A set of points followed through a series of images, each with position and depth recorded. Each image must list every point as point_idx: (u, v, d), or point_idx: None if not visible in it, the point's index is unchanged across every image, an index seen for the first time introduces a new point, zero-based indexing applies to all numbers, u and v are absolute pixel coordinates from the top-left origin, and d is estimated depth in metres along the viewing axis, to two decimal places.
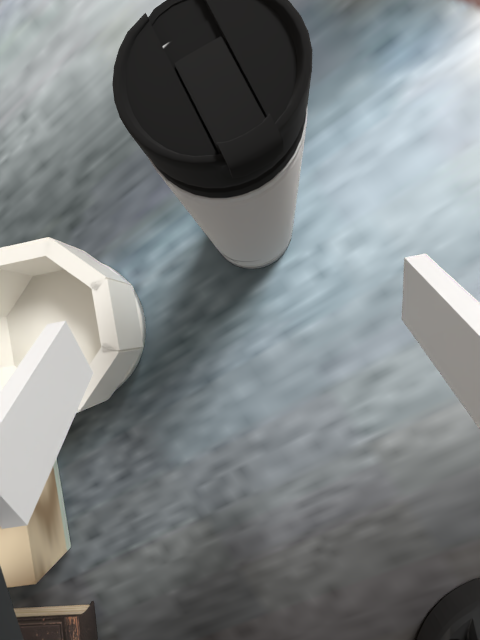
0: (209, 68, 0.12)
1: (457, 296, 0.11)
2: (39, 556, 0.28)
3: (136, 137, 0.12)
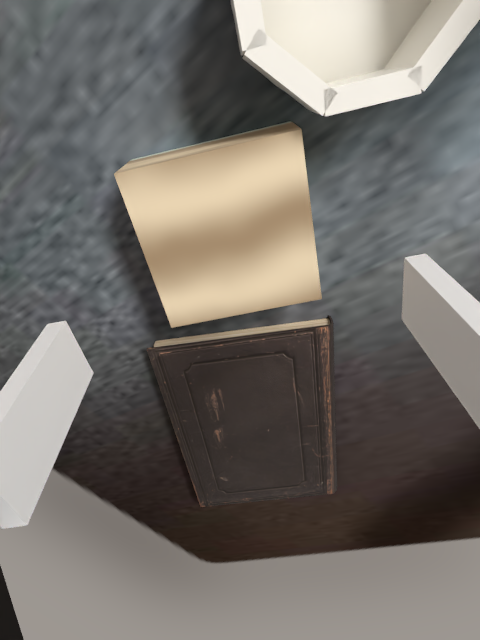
0: None
1: (457, 296, 0.11)
2: None
3: None
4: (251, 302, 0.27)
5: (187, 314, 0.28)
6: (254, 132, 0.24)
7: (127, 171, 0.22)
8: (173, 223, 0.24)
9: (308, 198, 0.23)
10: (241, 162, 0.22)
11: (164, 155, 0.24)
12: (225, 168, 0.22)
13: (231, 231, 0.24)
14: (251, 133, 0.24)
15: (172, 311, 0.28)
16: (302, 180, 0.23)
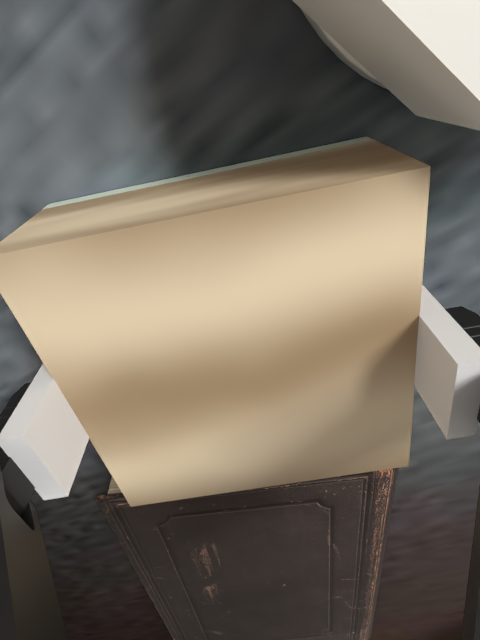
0: None
1: None
2: None
3: None
4: (279, 472, 0.15)
5: (158, 488, 0.15)
6: (297, 160, 0.12)
7: (11, 253, 0.10)
8: (125, 353, 0.11)
9: (417, 309, 0.11)
10: (279, 238, 0.10)
11: (108, 205, 0.12)
12: (241, 249, 0.10)
13: (247, 366, 0.12)
14: (292, 162, 0.12)
15: (131, 485, 0.15)
16: (411, 275, 0.10)
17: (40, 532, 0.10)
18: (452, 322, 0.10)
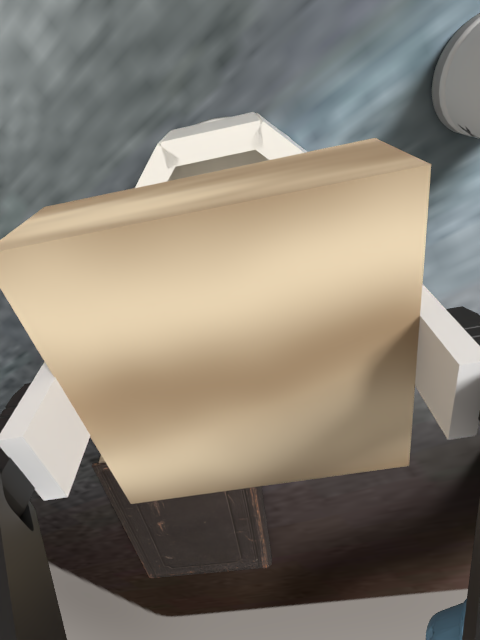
0: None
1: None
2: None
3: None
4: (279, 470, 0.15)
5: (158, 486, 0.15)
6: (298, 158, 0.12)
7: (11, 250, 0.10)
8: (125, 350, 0.11)
9: (417, 308, 0.11)
10: (279, 236, 0.10)
11: (109, 202, 0.12)
12: (241, 247, 0.10)
13: (246, 364, 0.12)
14: (292, 160, 0.12)
15: (131, 482, 0.15)
16: (412, 273, 0.10)
17: (39, 533, 0.10)
18: (453, 322, 0.10)
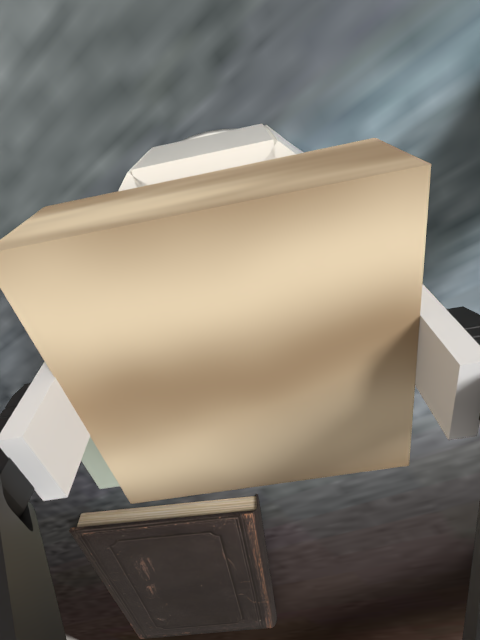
0: None
1: None
2: None
3: None
4: (279, 470, 0.15)
5: (158, 486, 0.15)
6: (298, 158, 0.12)
7: (11, 249, 0.10)
8: (125, 350, 0.11)
9: (417, 307, 0.11)
10: (280, 235, 0.10)
11: (109, 202, 0.12)
12: (241, 246, 0.10)
13: (247, 364, 0.12)
14: (292, 160, 0.12)
15: (131, 482, 0.15)
16: (411, 273, 0.10)
17: (38, 533, 0.10)
18: (454, 322, 0.10)
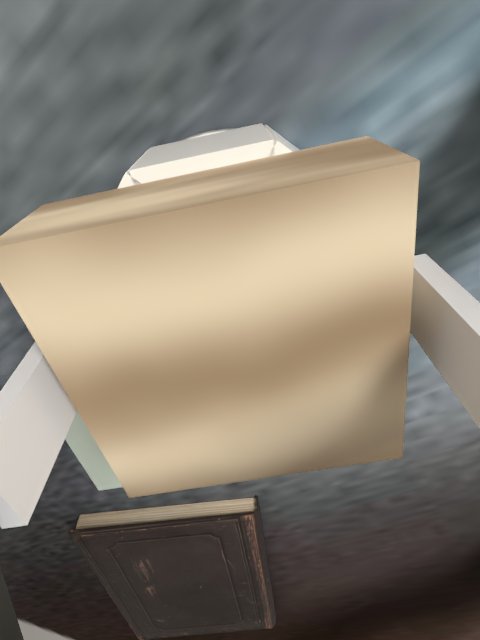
0: None
1: (457, 296, 0.11)
2: None
3: None
4: (275, 463, 0.15)
5: (156, 480, 0.15)
6: (292, 156, 0.12)
7: (12, 245, 0.10)
8: (124, 344, 0.12)
9: (409, 301, 0.11)
10: (274, 231, 0.10)
11: (107, 199, 0.12)
12: (236, 241, 0.10)
13: (243, 358, 0.12)
14: (286, 158, 0.12)
15: (129, 476, 0.15)
16: (402, 267, 0.11)
17: None
18: None
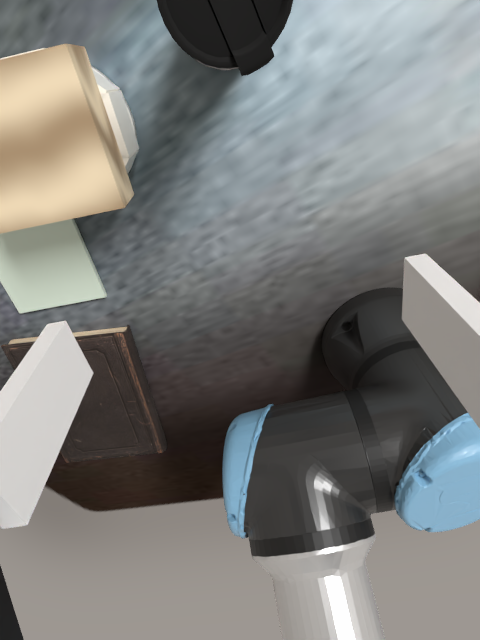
0: None
1: (457, 296, 0.11)
2: (120, 187, 0.31)
3: (178, 43, 0.18)
4: (63, 210, 0.31)
5: (8, 220, 0.31)
6: None
7: None
8: None
9: (88, 109, 0.27)
10: (22, 73, 0.26)
11: None
12: (8, 78, 0.26)
13: (28, 140, 0.28)
14: None
15: None
16: (79, 92, 0.27)
17: None
18: None
